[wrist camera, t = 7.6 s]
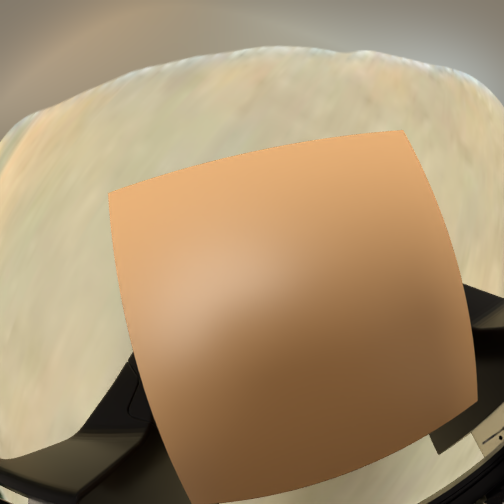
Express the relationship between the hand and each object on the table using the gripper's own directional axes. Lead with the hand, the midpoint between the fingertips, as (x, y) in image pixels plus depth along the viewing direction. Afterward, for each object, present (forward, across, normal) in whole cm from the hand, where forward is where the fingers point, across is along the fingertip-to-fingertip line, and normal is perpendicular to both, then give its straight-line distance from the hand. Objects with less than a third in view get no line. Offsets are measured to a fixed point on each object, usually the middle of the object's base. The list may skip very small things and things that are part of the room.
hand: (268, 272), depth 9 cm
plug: (+4, 0, +6) cm, 7 cm away
